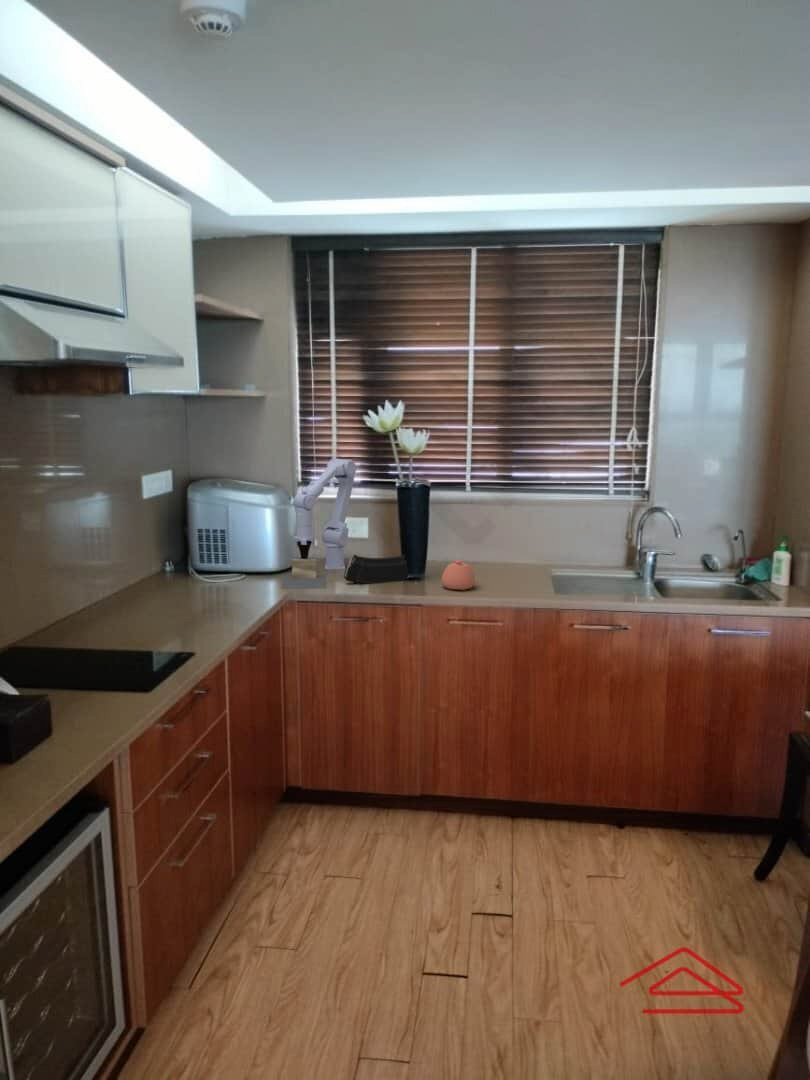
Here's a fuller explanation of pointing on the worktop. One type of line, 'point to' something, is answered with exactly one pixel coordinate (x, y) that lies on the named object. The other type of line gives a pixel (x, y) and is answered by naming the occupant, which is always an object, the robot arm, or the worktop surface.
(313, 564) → the tile
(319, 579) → the mat
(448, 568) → the sugar bowl
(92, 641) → the worktop surface
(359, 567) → the magazine
